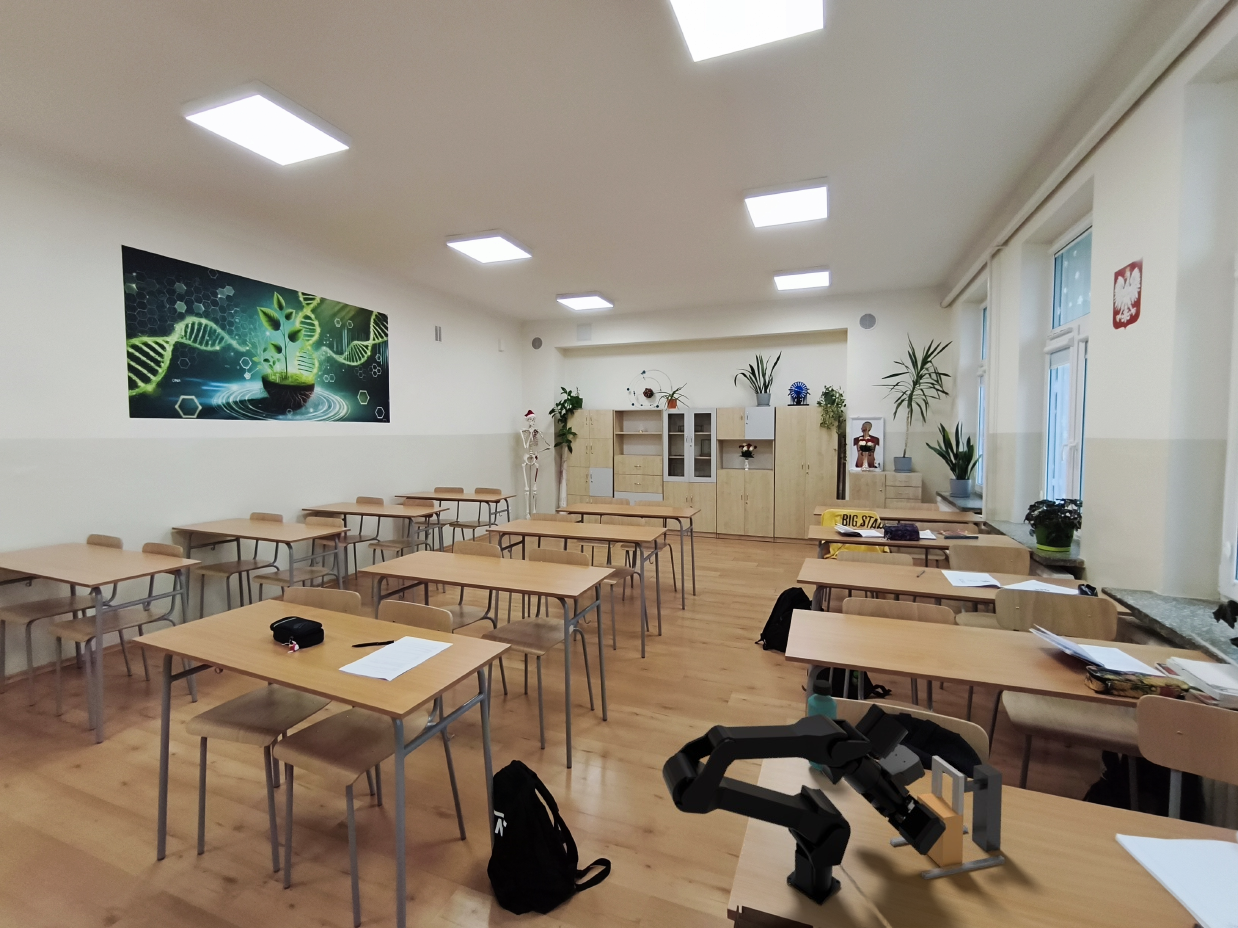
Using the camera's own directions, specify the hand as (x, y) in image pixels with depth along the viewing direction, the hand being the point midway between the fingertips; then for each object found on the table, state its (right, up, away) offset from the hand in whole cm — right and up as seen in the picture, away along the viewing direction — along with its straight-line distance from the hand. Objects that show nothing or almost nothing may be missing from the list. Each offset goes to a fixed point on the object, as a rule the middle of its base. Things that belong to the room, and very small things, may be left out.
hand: (919, 826), depth 95 cm
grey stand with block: (+7, -6, +2) cm, 9 cm away
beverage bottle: (-7, -6, +28) cm, 29 cm away
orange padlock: (+4, -5, +1) cm, 7 cm away
